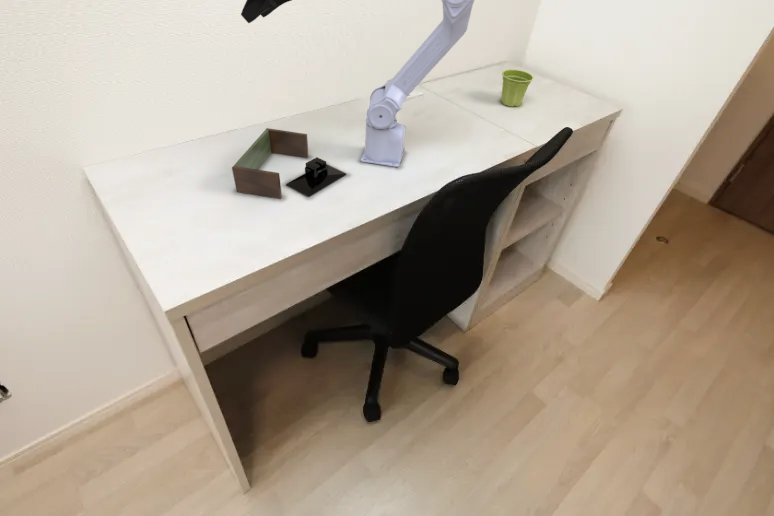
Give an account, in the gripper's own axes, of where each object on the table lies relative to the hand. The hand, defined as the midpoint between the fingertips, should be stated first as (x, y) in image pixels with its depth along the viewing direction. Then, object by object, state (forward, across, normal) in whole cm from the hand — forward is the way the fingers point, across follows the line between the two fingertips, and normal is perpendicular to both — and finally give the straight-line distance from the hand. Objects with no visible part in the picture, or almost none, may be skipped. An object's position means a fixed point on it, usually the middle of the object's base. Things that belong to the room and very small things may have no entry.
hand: (252, 15), depth 90 cm
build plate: (+12, +8, +32) cm, 35 cm away
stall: (+18, +8, +25) cm, 32 cm away
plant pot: (-25, -49, +62) cm, 83 cm away
